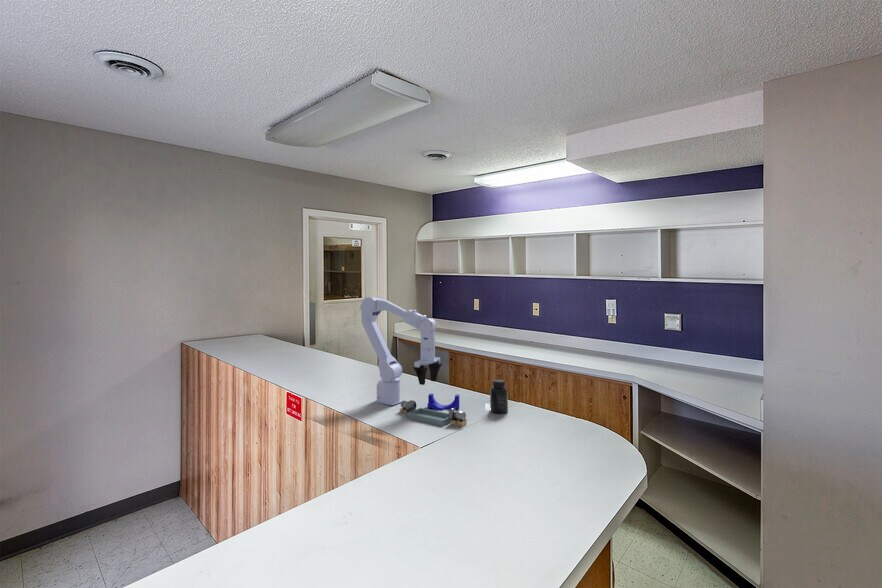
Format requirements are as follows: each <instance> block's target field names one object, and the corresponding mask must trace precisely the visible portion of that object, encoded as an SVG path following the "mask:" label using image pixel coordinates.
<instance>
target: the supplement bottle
mask: <svg viewBox="0 0 882 588" xmlns="http://www.w3.org/2000/svg"><path fill="white" fill-rule="evenodd" d="M491 382H492V387H491V388H490V389H489V403H490V404H489V409H490V408H491V410H490V412H491V411H492V412H491V413H493V414H500V415H501V414H506V413H508V410H509V397H508V395H509V393H508V389H507V387H505V386H506V380H504V379H493V380H492V381H491Z"/></svg>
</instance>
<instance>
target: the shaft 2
mask: <svg viewBox="0 0 882 588" xmlns="http://www.w3.org/2000/svg"><path fill="white" fill-rule="evenodd" d="M448 413H449V420H450V421H452V422H451V427H458V428H459V427H460V428H463V427H465V426H466V425H467V422H468V421H467V419H468V418H466V417H467V413H466V412H465V411H461V410H460V411H459V410H457V408H456V407H454V408H451V409H449V411H448Z"/></svg>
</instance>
